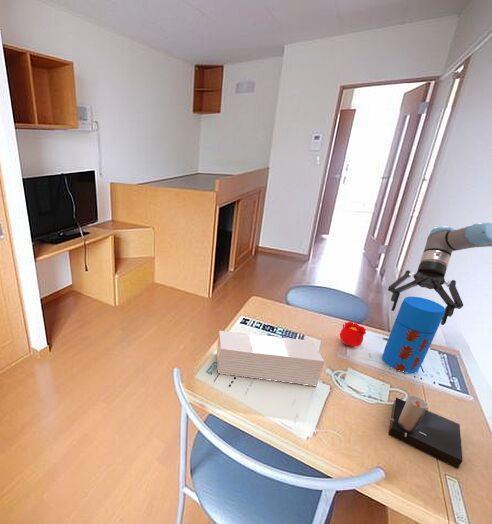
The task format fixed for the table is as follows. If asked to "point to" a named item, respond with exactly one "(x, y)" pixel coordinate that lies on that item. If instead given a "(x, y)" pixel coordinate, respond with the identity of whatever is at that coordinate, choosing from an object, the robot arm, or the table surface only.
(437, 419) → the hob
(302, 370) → the stack of papers
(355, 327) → the flower
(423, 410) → the beige cylinder
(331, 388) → the table surface
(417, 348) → the thermos
